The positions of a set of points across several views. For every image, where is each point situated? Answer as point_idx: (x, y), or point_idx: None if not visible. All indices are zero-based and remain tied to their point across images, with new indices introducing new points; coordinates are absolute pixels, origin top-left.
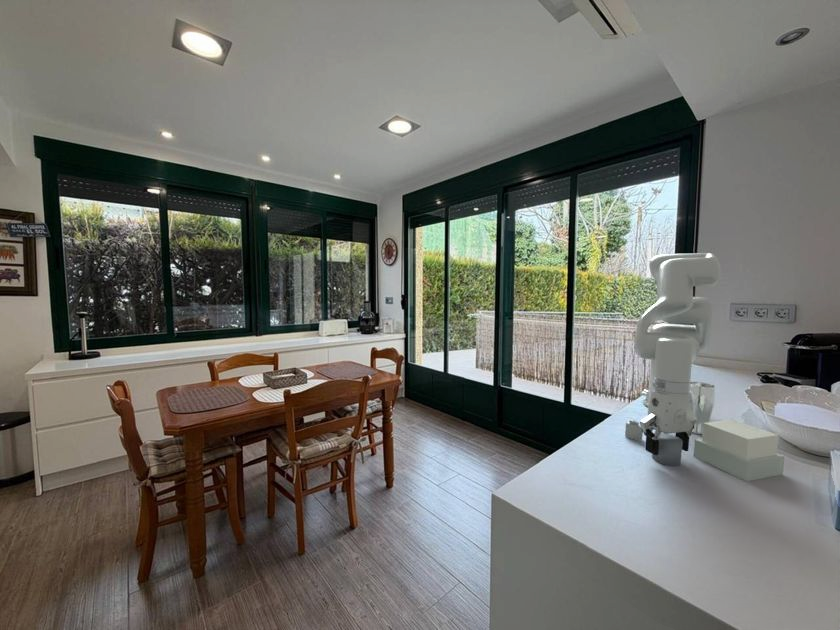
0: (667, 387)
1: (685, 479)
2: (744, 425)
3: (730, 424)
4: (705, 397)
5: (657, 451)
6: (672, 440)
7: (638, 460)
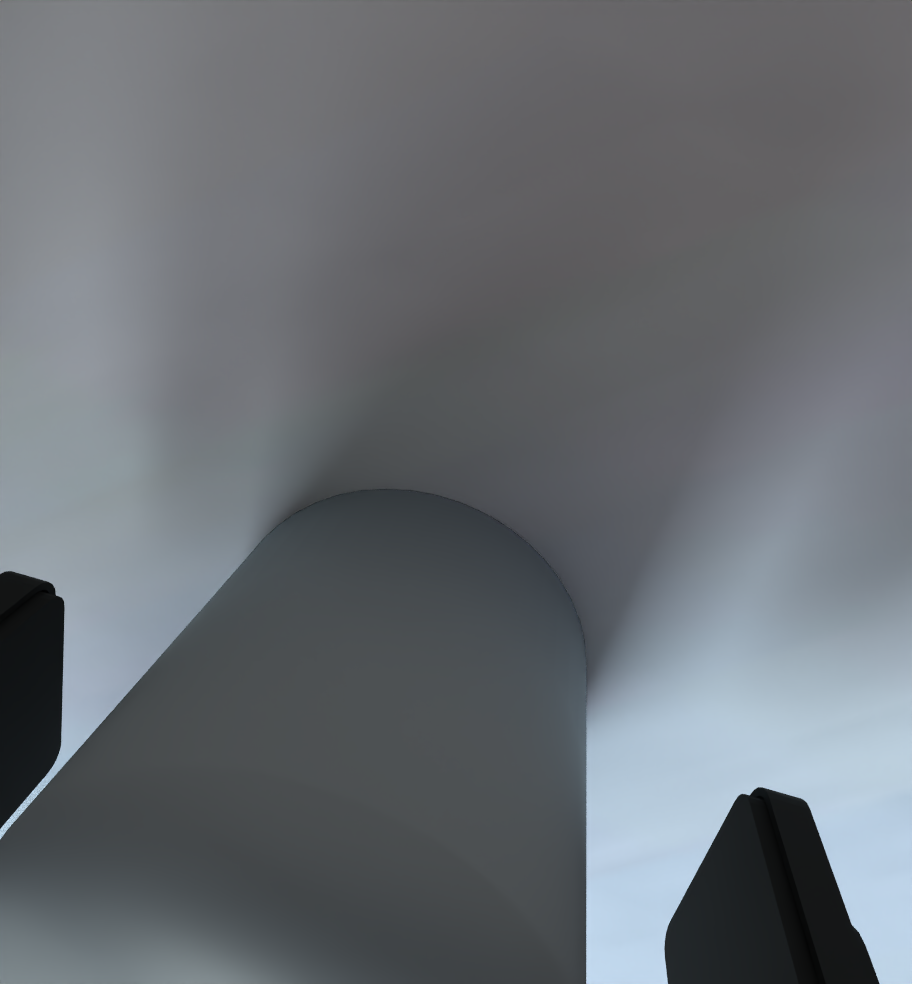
0: None
1: (852, 213)
2: None
3: None
4: None
5: (806, 855)
6: (330, 927)
7: None
